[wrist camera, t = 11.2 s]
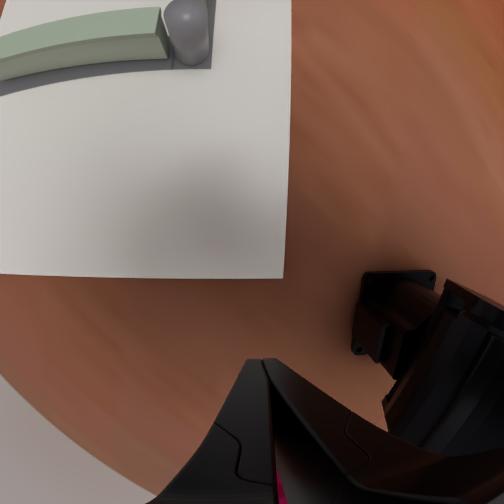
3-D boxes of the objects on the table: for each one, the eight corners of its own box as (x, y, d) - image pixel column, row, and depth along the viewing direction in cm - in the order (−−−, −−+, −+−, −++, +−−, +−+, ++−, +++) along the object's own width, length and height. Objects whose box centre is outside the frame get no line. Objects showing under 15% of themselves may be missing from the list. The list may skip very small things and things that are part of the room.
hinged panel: (170, 39, 16) (159, 6, 11) (167, 61, 16) (154, 33, 12) (5, 63, 14) (-30, 47, 10) (1, 83, 15) (-36, 71, 10)
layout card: (287, -63, 15) (306, -110, 9) (281, 275, 21) (305, 313, 15) (23, -33, 12) (-8, -63, 6) (-10, 270, 18) (-57, 297, 13)
